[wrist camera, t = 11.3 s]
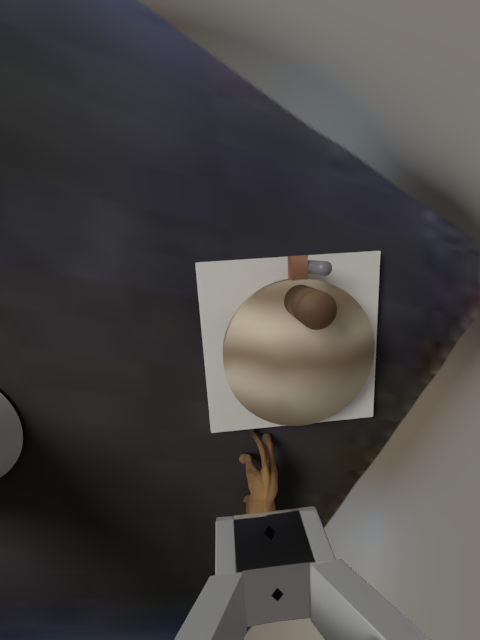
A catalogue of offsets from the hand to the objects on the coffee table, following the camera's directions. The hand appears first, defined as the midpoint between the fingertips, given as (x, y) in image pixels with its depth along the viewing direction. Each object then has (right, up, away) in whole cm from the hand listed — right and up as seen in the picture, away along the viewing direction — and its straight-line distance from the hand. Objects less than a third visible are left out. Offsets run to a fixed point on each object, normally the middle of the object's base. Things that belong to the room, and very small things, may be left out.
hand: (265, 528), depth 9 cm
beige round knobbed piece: (+5, +4, +21) cm, 22 cm away
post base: (+5, +4, +24) cm, 25 cm away
